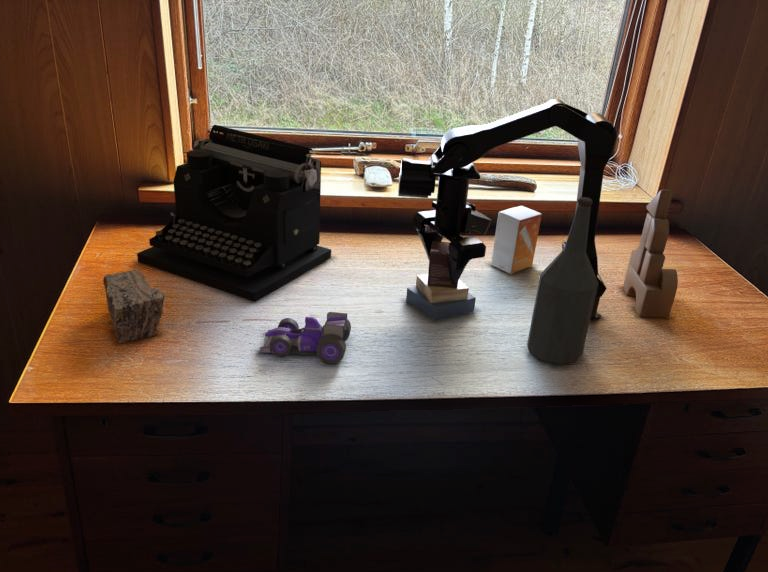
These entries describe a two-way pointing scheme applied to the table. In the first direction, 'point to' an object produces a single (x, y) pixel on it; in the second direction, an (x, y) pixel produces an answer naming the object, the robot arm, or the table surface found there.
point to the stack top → (441, 291)
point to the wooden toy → (652, 263)
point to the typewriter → (242, 215)
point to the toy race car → (310, 338)
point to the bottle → (565, 298)
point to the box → (439, 266)
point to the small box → (515, 239)
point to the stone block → (133, 305)
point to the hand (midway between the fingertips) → (443, 274)
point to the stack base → (439, 305)
